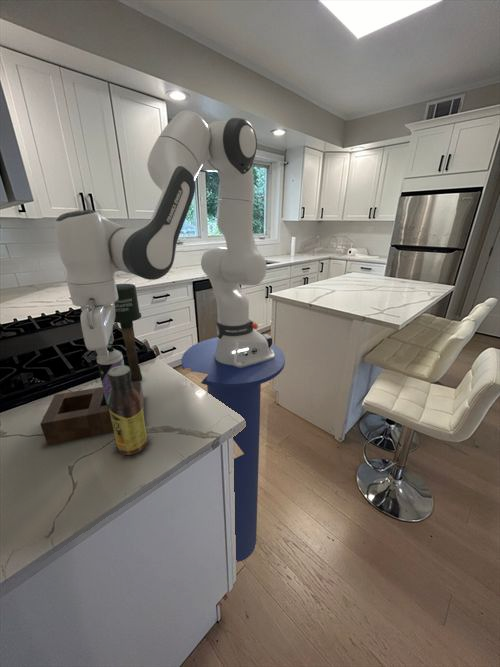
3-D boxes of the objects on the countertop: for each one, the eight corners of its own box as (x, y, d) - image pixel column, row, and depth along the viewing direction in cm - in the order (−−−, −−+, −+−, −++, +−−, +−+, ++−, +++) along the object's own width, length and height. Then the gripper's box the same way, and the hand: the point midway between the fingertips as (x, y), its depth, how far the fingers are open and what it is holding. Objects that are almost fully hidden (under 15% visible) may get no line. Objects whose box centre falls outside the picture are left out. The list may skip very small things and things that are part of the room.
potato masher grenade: (115, 386, 84) (94, 288, 72) (134, 372, 91) (119, 282, 80) (138, 391, 81) (121, 291, 70) (156, 376, 89) (143, 284, 77)
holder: (143, 398, 78) (140, 380, 76) (143, 425, 68) (140, 405, 66) (60, 413, 72) (54, 394, 69) (47, 445, 62) (40, 423, 60)
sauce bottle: (116, 442, 63) (98, 365, 55) (144, 432, 66) (131, 358, 58) (120, 462, 58) (102, 381, 50) (151, 450, 61) (138, 372, 53)
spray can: (111, 411, 73) (96, 342, 65) (133, 407, 74) (121, 339, 67) (108, 424, 68) (91, 351, 60) (132, 420, 70) (118, 348, 62)
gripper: (105, 305, 51) (118, 370, 56) (115, 282, 69) (124, 333, 74) (65, 309, 49) (84, 376, 54) (86, 284, 67) (98, 336, 72)
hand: (107, 351), depth 64 cm, fingers open, 8 cm apart
